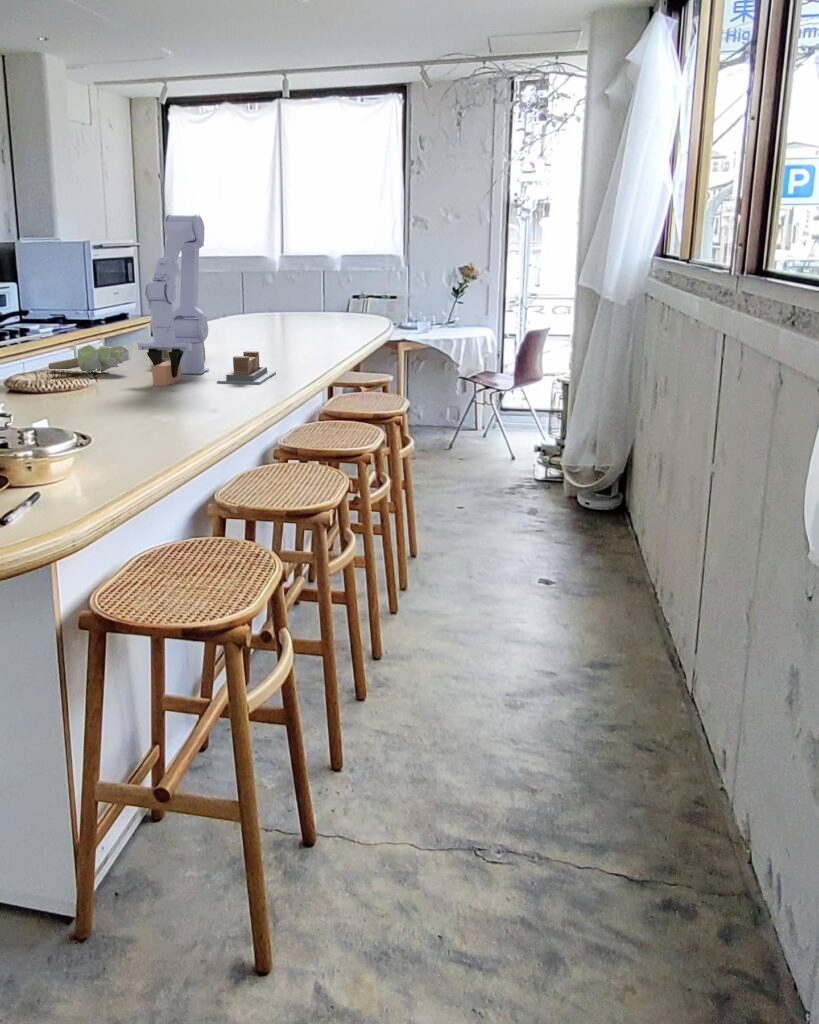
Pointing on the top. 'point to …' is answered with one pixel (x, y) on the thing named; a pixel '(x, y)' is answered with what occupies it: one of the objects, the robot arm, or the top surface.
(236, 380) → the jig
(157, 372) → the salmon pink cuboid
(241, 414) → the top surface
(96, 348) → the decorative object
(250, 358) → the tan notched block
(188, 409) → the top surface
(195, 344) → the robot arm
